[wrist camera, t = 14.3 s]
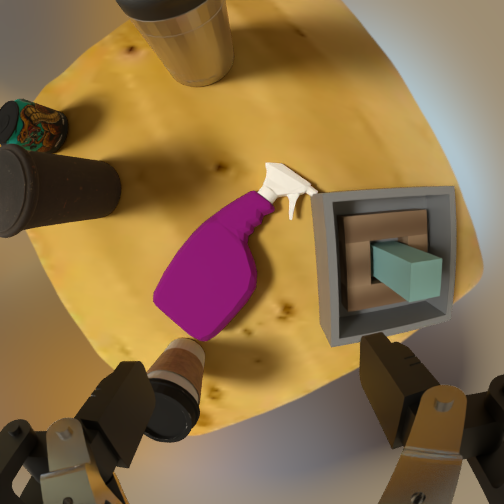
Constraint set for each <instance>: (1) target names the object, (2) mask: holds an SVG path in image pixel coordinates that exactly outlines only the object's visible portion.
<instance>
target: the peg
mask: <svg viewBox="0 0 504 504" xmlns="http://www.w3.org/2000/svg"><path fill="white" fill-rule="evenodd" d="M370 262H371V275H373V276H374V277H375V278H377V279H378V280H380V281H381V282H382V283H384V284H385V285H386V286H388V287H389V288H391V289H392V290H393V291H395V292H396V293H397V294H399V295H400V296H401V297H403V298H404V299H406V300H407V301H408V302H413V301H418V300H423V299H428V298H432V297H437V296H440V288H441V274H442V258H440V257H437V256H435V255H432V254H429V253H427V252H424V251H421V250H419V249H416V248H413V247H410V246H408V245H405V244H402V243H399V242H396V241H394V240H393V241H383V242H374V243H370Z"/></svg>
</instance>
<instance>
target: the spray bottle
mask: <svg viewBox="0 0 504 504" xmlns="http://www.w3.org/2000/svg"><path fill="white" fill-rule="evenodd" d="M265 164H266V169H267V175H266V179H265V181H264V183H263V186H262V187H261V188H260V190H259V191H258V192H256V191H250V192H248V193H247V194H245V195H243V196H241V197H240V198H238V199H236V200H235V201H233V202H231V203H230V204H228V205H227V206H225V207H224V208H222V209H221V210H220V211H218V212H217V213H216V214H214V215H213V216H212V217H210V218H209V219H208V220H206V221H205V222H204V223H203V224H202V225H201V226H200V227H199V228H198V229H197V230H196V231H194V232H193V233H192V235H191V236H190V237H189V238H188V240H187V241H186V242H185V243H184V244H183V246H182V247H181V248H180V249H179V251H178V252H177V253H176V255H175V257H174V258H173V260H172V261H171V263H170V264H169V266H168V267H167V269H166V270H165V272H164V274H163V276H162V278H161V279H160V281H159V283H158V285H157V287H156V289H155V291H154V295H153V302H154V303H155V305H156V306H157V307H158V308H159V309H160V310H161V311H162V312H164V313H165V314H166V315H167V316H168V317H169V318H170V319H171V320H173V321H174V322H175V323H176V324H177V325H178V326H180V327H181V328H182V329H183V330H184V331H185V332H187V333H188V334H189V335H190V336H192V337H194V338H196V339H198V340H200V341H208V340H209V339H211V338H213V337H215V336H216V335H217V334H218V333H219V332H220V331H221V330H222V329H224V328H225V327H226V326H227V324H228V323H229V322H230V321H231V320H232V319H233V318H234V317H235V315H236V314H237V313H238V312H239V311H240V310H241V309H242V308H243V306H244V305H245V304H246V303H247V302H248V300H249V298H250V297H251V295H252V293H253V292H254V290H255V288H256V283H257V270H256V265H255V261H254V258H253V256H252V254H251V251H250V249H249V246H248V244H247V243H248V236H249V235H250V234H252V233H253V232H254V228H255V227H256V226H258V225H260V224H261V223H262V220H263V217H264V216H265V215H267V214H269V213H272V212H274V210H275V208H274V206H273V205H272V204H273V202H274V201H275V200H276V199H277V197H283V196H287V197H288V198H289V219H290V220H292V217H293V212H294V207H295V203H296V201H297V199H298V197H299V195H302V194H304V193H307V194H308V195H310V196H312V194H317V193H318V191H317V190H316V189H315V188H313V187H312V186H310V185H311V184H310V183H309V182H308V181H306V180H305V179H303V178H302V177H300V176H299V175H298V174H296V173H295V172H293V171H292V170H290V169H289V168H287V167H286V166H285V165H283V164H282V163H265Z"/></svg>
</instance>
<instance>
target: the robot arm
mask: <svg viewBox="0 0 504 504" xmlns="http://www.w3.org/2000/svg"><path fill="white" fill-rule="evenodd" d="M116 2H117V3H118V5H119V6H120V7H121V9H122V10H123V11H124V12H125V14H126V15H127V16H128V18H129V19H130V20H131V22H132V23H133V24H134V25H135V27H136V28H137V29H138V30H139V32H140V33H141V34H142V36H143V37H144V38H145V40H146V41H147V42H148V44H149V45H150V46H151V48H152V49H153V50H154V52H155V53H156V54H157V56H158V57H159V58H160V60H161V61H162V62H163V64H164V65H165V67H166V68H167V69H168V71H169V72H170V73H171V75H172V76H173V78H174V79H176V80H177V81H178V82H180V83H181V84H183V85H187V86H192V87H200V86H206V85H210V84H212V83H214V82H217V81H218V80H220V79H221V78H223V77H224V76H225V75H226V74H227V73H228V71H229V70H230V69H231V67H232V64H233V62H234V51H233V44H232V37H231V31H230V25H229V19H228V13H227V7H226V1H225V0H116ZM359 372H360V381H361V385H362V387H363V390H364V391H365V394H366V395H367V398H368V400H369V402H370V404H371V406H372V408H373V410H374V412H375V414H376V416H377V418H378V420H379V422H380V425H381V427H382V429H383V431H384V433H385V435H386V437H387V440H388V442H389V444H390V445H391V448H392V449H395V448H398V447H401V446H404V449H403V451H402V453H401V455H400V458H399V460H398V463H397V465H396V467H395V470H394V472H393V474H392V476H391V478H390V481H389V483H388V485H387V487H386V489H385V491H384V493H383V495H382V497H381V499H380V501H379V502H378V504H451V503H452V500H453V497H454V493H455V490H456V486H457V482H458V479H459V474H460V470H461V466H462V460H463V459H467V461H468V463H469V465H470V466H471V468H472V470H473V472H474V474H475V476H476V478H477V480H478V481H479V484H480V486H481V488H482V489H483V492H484V494H485V495H486V498H487V500H488V502H489V504H504V375H500V376H497V377H496V378H494V379H493V380H492V382H491V383H490V386H489V389H488V391H487V392H482V393H476V394H471V395H465V394H464V392H463V391H462V390H460V389H459V388H456V387H454V386H451V385H440V384H439V382H438V381H437V380H436V379H435V378H434V376H433V375H432V374H431V373H430V372H429V371H428V369H427V368H426V367H425V366H424V365H423V364H422V363H421V362H420V360H419V359H418V358H417V357H415V354H414V353H413V352H412V351H411V350H410V349H409V348H408V347H407V346H405V345H403V344H401V343H399V342H393V343H391V342H390V341H389V339H388V338H387V337H386V336H385V335H384V333H383V332H378V333H374V334H369V335H365V336H362V337H361V340H360V371H359ZM155 404H156V398H155V393H154V391H153V388H152V386H151V383H150V381H149V378H148V376H147V373H146V370H145V368H144V365H143V364H142V362H140V361H122V362H120V364H119V365H118V366H117V368H116V369H115V370H114V372H113V373H111V374H110V375H108V376H107V377H106V378H104V379H103V380H102V381H101V382H100V383H99V385H98V386H97V387H96V390H94V391H93V393H92V394H91V397H89V398H88V399H87V401H86V402H85V403H84V405H83V406H82V408H81V409H80V410H79V412H78V413H77V414H76V416H75V417H74V418H63V419H60V420H58V421H56V422H54V423H53V424H52V425H51V426H50V427H49V428H48V430H47V431H34V430H33V429H32V427H31V426H30V424H29V423H28V422H27V421H26V420H22V419H18V420H14V421H12V422H10V423H8V424H7V425H6V426H5V427H4V428H3V429H2V431H1V432H0V504H129V502H128V500H127V498H126V496H125V493H124V491H123V489H122V487H121V484H120V482H119V479H118V477H117V475H116V474H115V473H114V470H115V467H116V466H117V467H123V468H129V467H130V464H131V462H132V459H133V457H134V455H135V452H136V450H137V448H138V445H139V443H140V441H141V438H142V436H143V434H144V431H145V429H146V427H147V425H148V422H149V420H150V418H151V415H152V413H153V411H154V409H155ZM22 465H23V466H24V467H25V468H26V469H27V471H28V472H29V473H30V474H31V475H32V476H31V478H30V480H29V482H28V483H27V485H26V487H25V488H24V490H23V492H22V494H21V496H20V498H19V497H18V496H17V495H16V494H15V493H14V491H13V489H12V481H13V479H14V478H15V476H16V475H17V473H18V471H19V470H20V468H21V466H22Z"/></svg>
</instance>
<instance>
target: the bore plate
mask: <svg viewBox="0 0 504 504" xmlns="http://www.w3.org/2000/svg"><path fill="white" fill-rule="evenodd" d="M337 225H338V238H339V253H340V271H341V299H342V305H343V306H344V308H345V309H346V310H347V311H348V312H351V311H356V310H362V309H368V308H373V307H379V306H384V305H389V304H394V303H399V302H404V301H407V300H406V299H404V298H403V297H401V296H400V295H399V294H397V293H396V292H395V291H393V290H392V289H391V288H389V287H388V286H386V285H385V284H384V283H382V282H381V281H380V280H378V279H377V278H375V277H371V262H370V241H373V240H381V239H390V238H398V242H399V243H402V244H405V245H408V246H410V247H413V248H416V249H419V250H421V251H424V252H427V212H426V210H425V209H416V208H414V209H402V210H390V211H378V212H367V213H356V214H345V215H337Z"/></svg>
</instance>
